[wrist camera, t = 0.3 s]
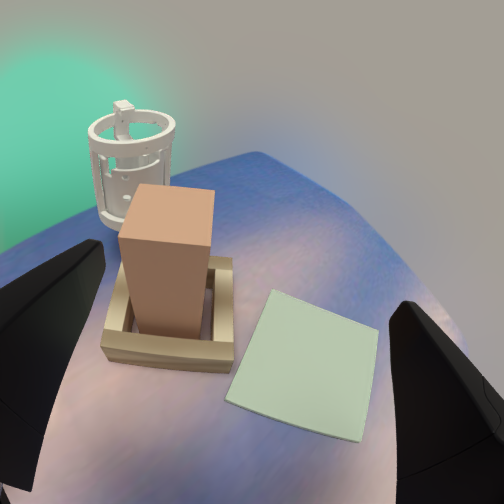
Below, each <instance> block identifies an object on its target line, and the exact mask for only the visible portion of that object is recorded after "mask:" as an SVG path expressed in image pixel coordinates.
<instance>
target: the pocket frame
mask: <svg viewBox="0 0 504 504" xmlns="http://www.w3.org/2000/svg"><path fill="white" fill-rule="evenodd" d="M205 288H210V289H212V314H211V341H206V340H194V339H182V338H172V337H163V336H154V335H146V334H138V333H131V329H132V323H133V318H134V311H133V307H132V303H131V299H130V295H129V290H128V286H127V282H126V277H125V272H124V268H123V263H122V262H121V265H120V268H119V272H118V275H117V279H116V282H115V286H114V289H113V293H112V297H111V301H110V305H109V309H108V313H107V317H106V321H105V325H104V330H103V334H102V339H101V343H100V347H101V349H102V350H103V352H104V354H105V355H106V357H107V359H108V360H109V361H113V362H119V363H125V364H132V365H139V366H146V367H154V368H163V369H172V370H183V371H195V372H210V373H229V371H230V369H231V366H232V364H233V361H234V344H233V284H232V258H228V257H218V256H209V262H208V270H207V278H206V286H205Z"/></svg>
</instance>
